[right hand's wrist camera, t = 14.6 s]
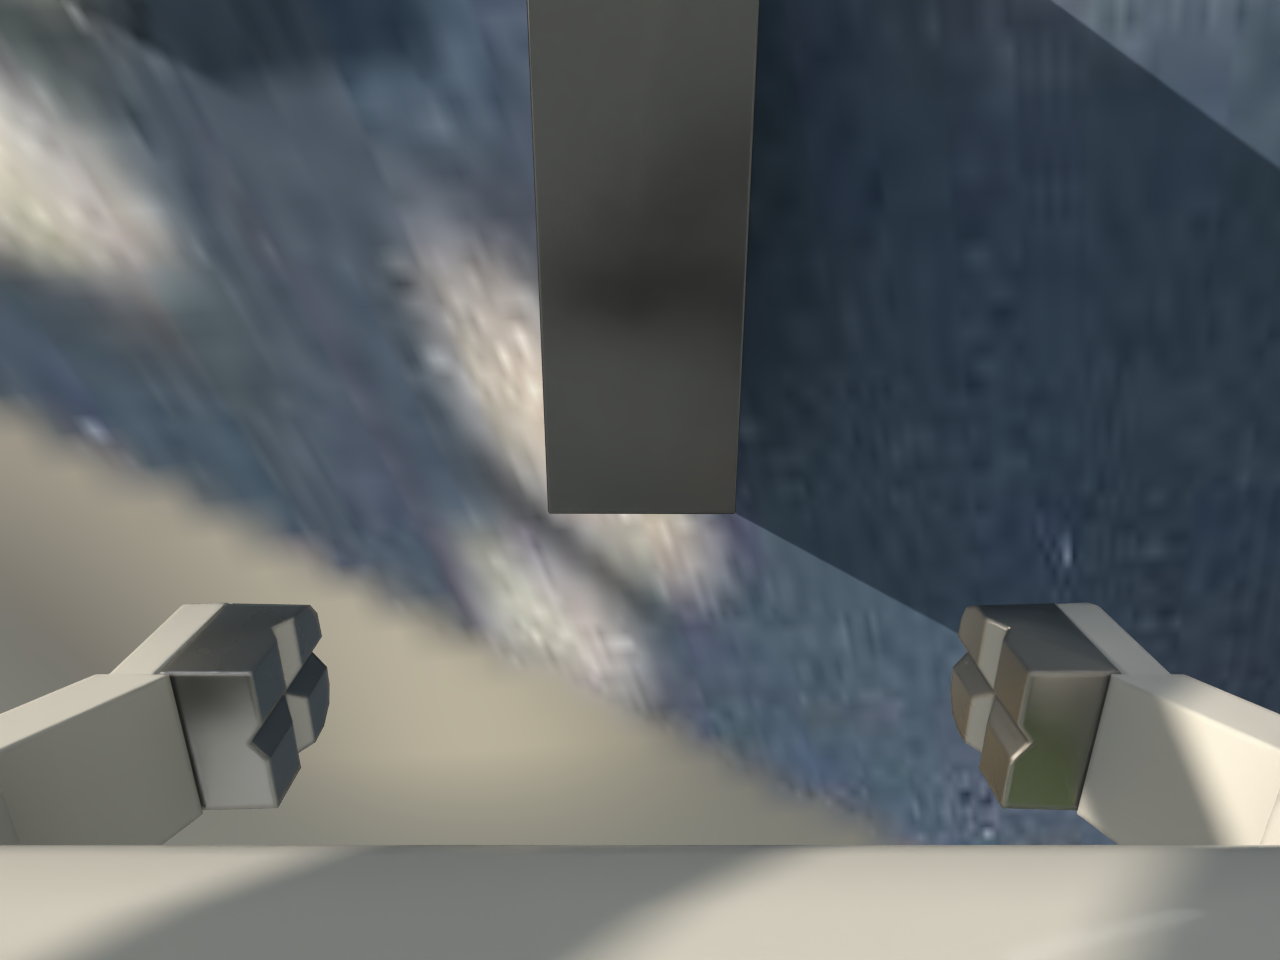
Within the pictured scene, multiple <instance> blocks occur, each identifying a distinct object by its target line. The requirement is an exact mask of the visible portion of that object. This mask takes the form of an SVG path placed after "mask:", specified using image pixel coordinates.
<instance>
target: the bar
mask: <svg viewBox="0 0 1280 960" xmlns="http://www.w3.org/2000/svg"><path fill="white" fill-rule="evenodd" d="M759 10H760V0H527V19H528V43H529V67H530V91H531V115H532V138H533V162H534V186H535V210H536V234H537V257H538V281H539V305H540V329H541V353H542V376H543V400H544V424H545V448H546V472H547V495H548V512H549V513H551V514H734V513H735V507H736V487H737V466H738V445H739V424H740V404H741V383H742V362H743V342H744V321H745V300H746V279H747V259H748V238H749V217H750V196H751V176H752V155H753V134H754V114H755V93H756V72H757V51H758V31H759Z"/></svg>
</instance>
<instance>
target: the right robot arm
mask: <svg viewBox="0 0 1280 960" xmlns="http://www.w3.org/2000/svg"><path fill="white" fill-rule="evenodd" d="M321 637H322V634H321V629H320V624H319V620H318V615H317V612H316V611H315V610H314V609H313V608H312V607H311V606H310V605H284V604H229V603H197V604H187V605H182V606H181V607H180V608H179V609H178V610H177V611H176V612H175V613H174V614H173V615H172V616H171V617H170V618H168V619H167V620H166V621H165V622H164V623H163V624H162V625H161V626H160V627H159V628H158V629H157V630H156V631H155V632H154V633H152V634H151V635H150V636H149V637H148V638H147V639H146V640H145V641H144V642H143V643H142V644H141V645H140V646H139V647H138V648H137V649H136V650H134V651H133V652H132V653H131V654H130V655H129V656H128V657H127V658H126V659H125V660H124V661H123V662H122V663H121V664H120V665H119V666H117V667H116V668H115V669H114V670H113V671H112V672H111V673H110V674H96V675H93V676H91V677H88V678H86V679H83V680H81V681H79V682H76V683H74V684H71V685H69V686H67V687H64V688H62V689H59V690H57V691H55V692H52V693H50V694H48V695H45V696H43V697H40V698H38V699H36V700H33V701H31V702H28V703H26V704H23V705H21V706H19V707H16V708H14V709H11V710H9V711H7V712H4V713H2V714H0V960H1280V714H1278V713H1276V712H1273V711H1271V710H1268V709H1266V708H1264V707H1261V706H1259V705H1256V704H1254V703H1252V702H1249V701H1247V700H1244V699H1242V698H1240V697H1237V696H1235V695H1232V694H1230V693H1228V692H1225V691H1223V690H1220V689H1218V688H1216V687H1213V686H1211V685H1209V684H1206V683H1204V682H1201V681H1199V680H1197V679H1194V678H1192V677H1189V676H1187V675H1185V674H1170V673H1169V672H1168V671H1167V670H1166V669H1165V668H1164V667H1163V666H1162V665H1160V664H1159V663H1158V662H1157V661H1156V660H1155V659H1154V658H1153V657H1152V656H1151V655H1150V654H1149V653H1148V652H1147V651H1146V650H1145V649H1144V648H1143V647H1141V646H1140V645H1139V644H1138V643H1137V642H1136V641H1135V640H1134V639H1133V638H1132V637H1131V636H1130V635H1129V634H1128V633H1127V632H1126V631H1125V630H1123V629H1122V628H1121V627H1120V626H1119V625H1118V624H1117V623H1116V622H1115V621H1114V620H1113V619H1112V618H1111V617H1110V616H1109V615H1108V614H1107V613H1106V612H1104V611H1103V610H1102V609H1101V608H1100V607H1099V606H1097V605H1094V604H1091V603H1065V604H1015V605H976V606H969V607H966V609H965V612H964V614H963V616H962V618H961V623H960V628H959V634H958V637H959V639H960V640H961V642H962V643H963V645H964V646H965V648H966V649H967V651H968V652H967V653H966V654H965V655H964V656H963V657H962V658H961V659H960V660H959V662H958V663H957V664H956V665H955V666H954V667H953V672H952V680H951V688H950V694H951V705H952V713H953V716H954V720H955V723H956V726H957V729H958V731H959V732H960V734H961V736H962V738H963V740H964V742H965V743H967V744H968V745H970V746H972V747H973V748H975V749H976V750H978V751H979V752H981V753H982V754H981V760H980V766H979V768H980V770H981V772H982V774H983V775H984V777H985V779H986V781H987V782H988V784H989V786H990V787H991V789H992V791H993V793H994V794H995V796H996V798H997V800H998V801H999V803H1000V805H1001V807H1002V808H1015V809H1052V810H1078V811H1077V814H1078V815H1080V816H1081V817H1082V818H1084V819H1085V820H1086V821H1088V822H1089V823H1090V824H1092V825H1093V826H1094V827H1096V828H1097V829H1098V830H1099V831H1101V832H1102V833H1103V834H1105V835H1106V836H1107V837H1109V838H1110V839H1111V840H1113V841H1114V842H1115V843H1117V844H1118V845H162V844H164V843H165V842H166V841H168V840H169V839H170V838H172V837H173V836H174V835H176V834H177V833H178V832H179V831H181V830H182V829H183V828H185V827H186V826H187V825H189V824H190V823H191V822H193V821H194V820H195V819H197V818H198V817H199V816H201V815H202V814H203V812H202V810H227V809H263V808H278V807H279V805H280V803H281V802H282V800H283V798H284V796H285V794H286V793H287V791H288V789H289V788H290V786H291V784H292V782H293V781H294V779H295V777H296V775H297V774H298V772H299V770H300V768H301V766H300V760H299V754H298V753H299V752H301V751H302V750H304V749H305V748H307V747H308V746H310V745H312V744H313V743H315V742H316V740H317V738H318V736H319V734H320V732H321V730H322V729H323V727H324V723H325V719H326V715H327V711H328V706H329V678H328V671H327V667H326V666H325V665H324V664H323V663H322V662H321V660H320V659H319V658H318V657H317V656H316V655H315V654H314V653H313V652H312V651H313V649H314V648H315V646H316V645H317V643H318V642H319V640H320V639H321Z"/></svg>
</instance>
